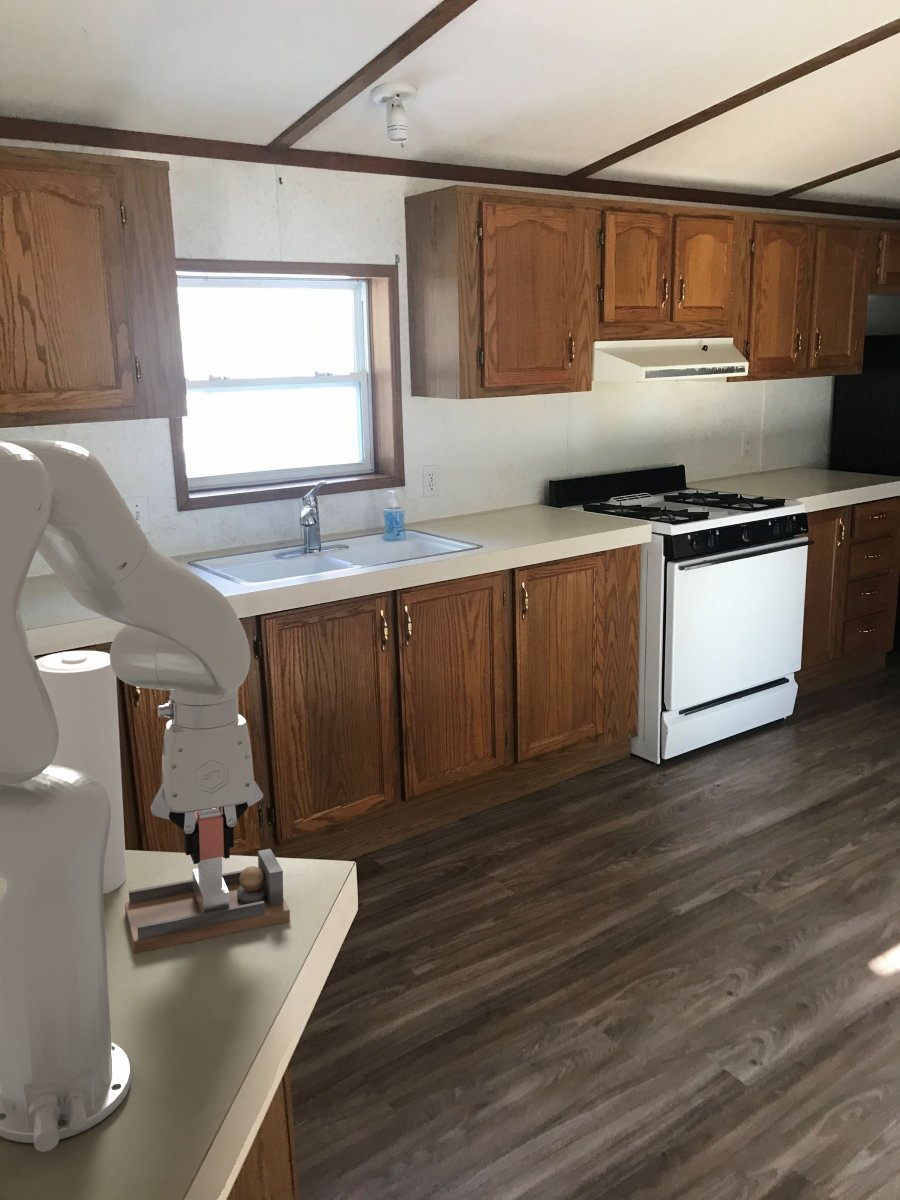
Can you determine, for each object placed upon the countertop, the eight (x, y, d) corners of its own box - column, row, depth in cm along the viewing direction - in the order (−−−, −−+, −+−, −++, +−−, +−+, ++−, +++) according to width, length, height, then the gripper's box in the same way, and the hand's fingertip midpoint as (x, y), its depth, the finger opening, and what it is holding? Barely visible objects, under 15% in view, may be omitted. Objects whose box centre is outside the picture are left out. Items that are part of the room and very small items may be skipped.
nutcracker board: (289, 921, 117) (289, 876, 116) (134, 953, 110) (132, 905, 109) (271, 885, 125) (270, 843, 124) (125, 913, 118) (123, 868, 117)
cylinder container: (33, 894, 122) (16, 665, 115) (74, 858, 131) (60, 644, 124) (102, 903, 120) (89, 671, 113) (139, 866, 129) (129, 649, 122)
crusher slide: (229, 915, 115) (227, 820, 112) (203, 920, 114) (200, 824, 111) (217, 886, 121) (215, 796, 118) (193, 891, 120) (190, 800, 117)
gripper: (135, 730, 105) (142, 883, 109) (282, 712, 112) (284, 858, 116) (127, 708, 112) (134, 854, 116) (266, 693, 119) (269, 831, 123)
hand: (209, 854), depth 116 cm, fingers closed on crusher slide, 2 cm apart
